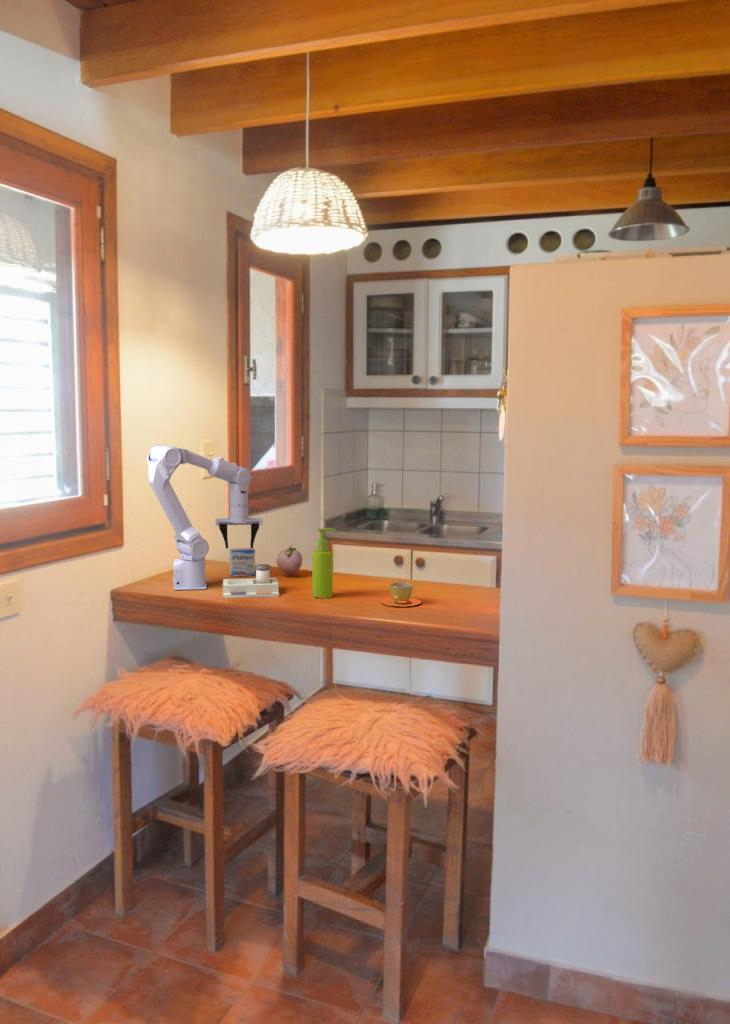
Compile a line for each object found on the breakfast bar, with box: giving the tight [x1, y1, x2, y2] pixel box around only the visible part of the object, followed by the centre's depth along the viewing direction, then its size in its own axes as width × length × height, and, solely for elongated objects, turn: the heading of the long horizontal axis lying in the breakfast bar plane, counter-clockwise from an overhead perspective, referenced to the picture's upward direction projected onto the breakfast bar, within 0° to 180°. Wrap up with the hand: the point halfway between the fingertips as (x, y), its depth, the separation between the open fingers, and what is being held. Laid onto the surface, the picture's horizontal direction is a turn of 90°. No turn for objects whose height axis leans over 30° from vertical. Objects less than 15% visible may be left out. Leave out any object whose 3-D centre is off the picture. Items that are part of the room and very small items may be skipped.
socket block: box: [222, 577, 280, 599], centre depth 231 cm, size 16×12×3 cm
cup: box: [389, 581, 414, 602], centre depth 221 cm, size 12×12×5 cm
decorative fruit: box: [276, 545, 303, 577], centre depth 253 cm, size 9×8×10 cm
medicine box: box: [229, 547, 256, 577], centre depth 255 cm, size 8×4×9 cm, turn 104°
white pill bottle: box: [255, 563, 271, 584], centre depth 232 cm, size 4×4×7 cm
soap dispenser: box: [311, 527, 337, 599], centre depth 227 cm, size 6×7×20 cm
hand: (239, 547), depth 246 cm, fingers open, 7 cm apart
